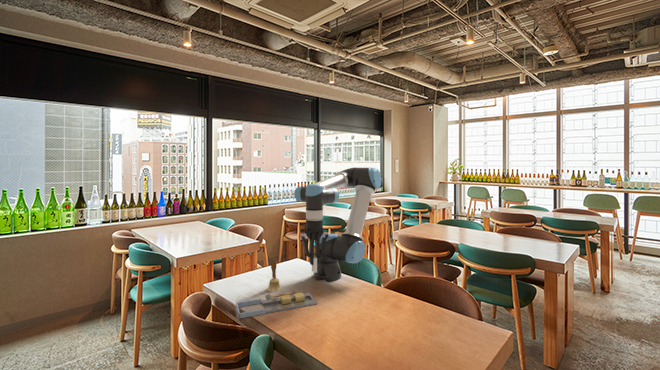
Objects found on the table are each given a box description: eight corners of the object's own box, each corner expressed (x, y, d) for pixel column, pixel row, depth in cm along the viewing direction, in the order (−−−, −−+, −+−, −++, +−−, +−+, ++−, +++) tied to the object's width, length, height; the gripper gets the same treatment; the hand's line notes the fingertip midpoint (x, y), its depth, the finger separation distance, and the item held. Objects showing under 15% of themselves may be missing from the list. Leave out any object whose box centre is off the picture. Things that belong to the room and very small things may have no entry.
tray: (261, 304, 136) (260, 298, 136) (265, 315, 126) (265, 309, 126) (235, 309, 132) (235, 302, 132) (238, 320, 122) (238, 314, 122)
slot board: (309, 296, 145) (309, 292, 145) (317, 306, 135) (317, 302, 134) (261, 304, 137) (261, 300, 136) (266, 315, 126) (266, 311, 126)
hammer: (294, 293, 149) (294, 290, 149) (296, 297, 144) (296, 294, 144) (266, 297, 144) (266, 294, 144) (267, 302, 139) (267, 298, 139)
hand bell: (274, 295, 146) (273, 262, 145) (262, 291, 151) (261, 259, 150) (286, 290, 153) (286, 258, 151) (274, 286, 158) (274, 255, 156)
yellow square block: (302, 298, 140) (302, 292, 140) (304, 302, 136) (304, 295, 136) (293, 300, 138) (293, 293, 138) (295, 304, 135) (295, 297, 134)
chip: (289, 301, 138) (289, 294, 137) (291, 305, 134) (291, 298, 134) (280, 302, 136) (280, 296, 136) (282, 306, 132) (282, 299, 132)
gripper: (325, 217, 144) (325, 267, 145) (297, 218, 139) (298, 270, 140) (331, 219, 137) (331, 272, 138) (302, 221, 132) (303, 276, 133)
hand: (314, 271), depth 139 cm, fingers closed
